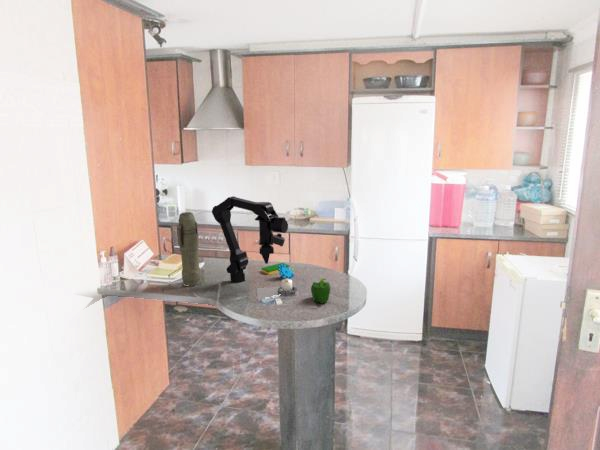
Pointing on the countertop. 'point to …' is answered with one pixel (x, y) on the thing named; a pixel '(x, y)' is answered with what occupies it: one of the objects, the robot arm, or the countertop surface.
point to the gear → (285, 271)
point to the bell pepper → (320, 291)
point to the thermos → (189, 249)
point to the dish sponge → (273, 269)
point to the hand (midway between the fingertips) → (266, 263)
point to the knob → (286, 285)
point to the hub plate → (276, 292)
